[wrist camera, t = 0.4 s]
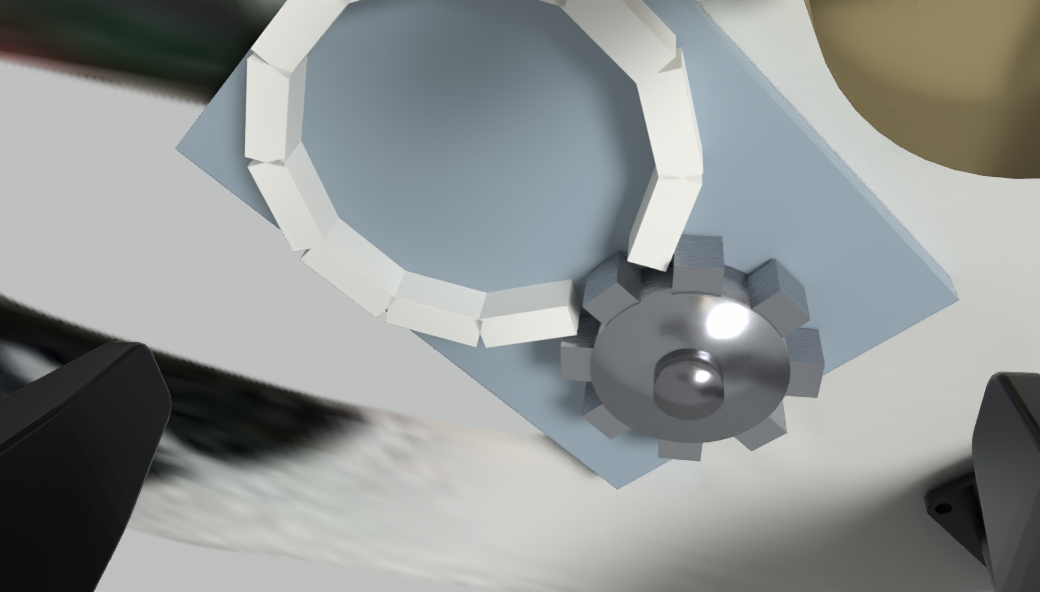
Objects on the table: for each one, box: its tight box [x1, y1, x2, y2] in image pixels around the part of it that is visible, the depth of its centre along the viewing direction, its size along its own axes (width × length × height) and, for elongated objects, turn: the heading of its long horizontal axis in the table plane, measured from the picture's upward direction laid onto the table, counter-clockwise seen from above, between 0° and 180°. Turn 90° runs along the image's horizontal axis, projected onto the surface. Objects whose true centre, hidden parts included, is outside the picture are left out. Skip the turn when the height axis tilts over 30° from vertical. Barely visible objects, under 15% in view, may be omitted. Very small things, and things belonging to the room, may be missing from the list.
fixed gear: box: [561, 235, 825, 461], centre depth 23 cm, size 7×7×2 cm
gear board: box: [176, 0, 959, 490], centre depth 22 cm, size 17×12×2 cm
